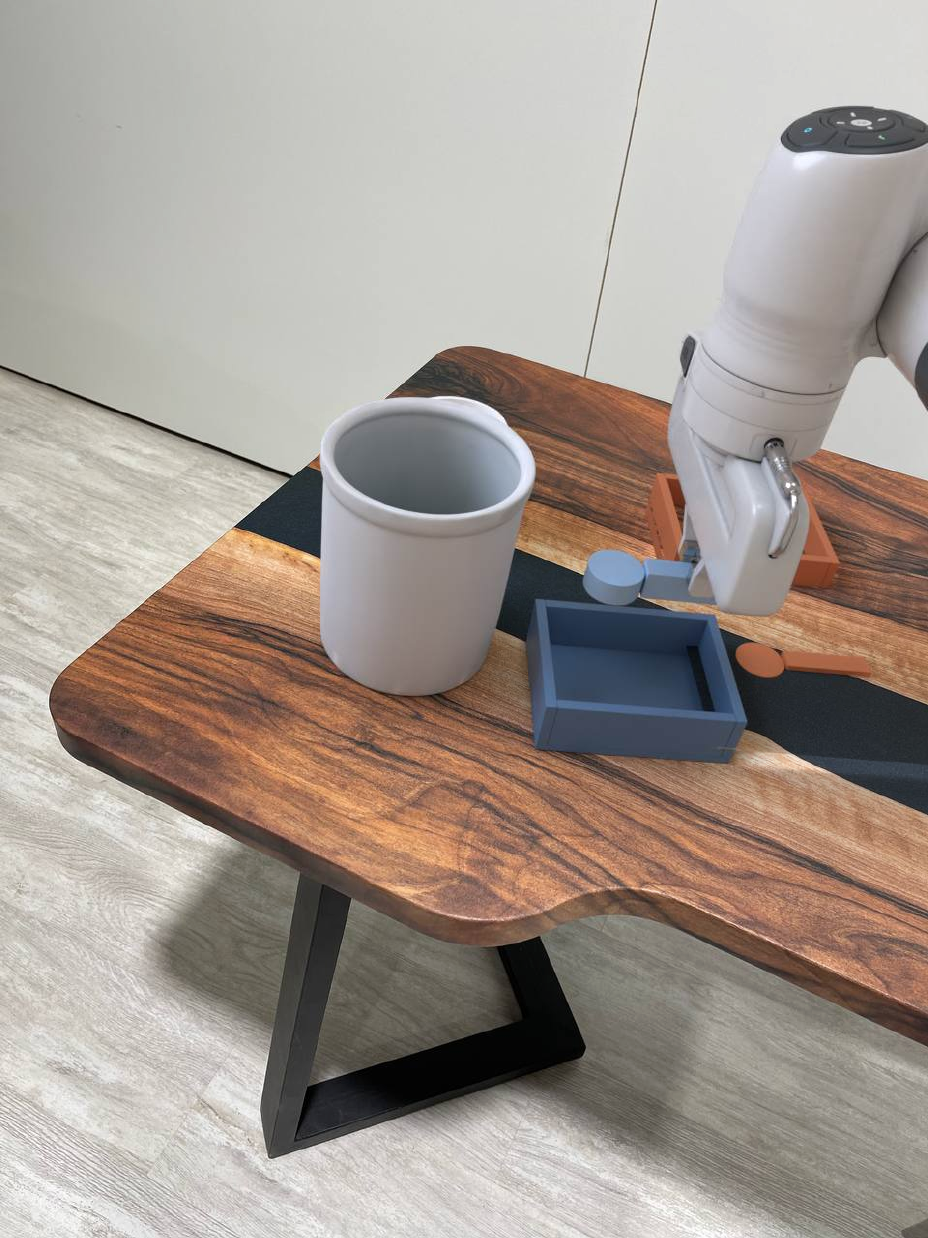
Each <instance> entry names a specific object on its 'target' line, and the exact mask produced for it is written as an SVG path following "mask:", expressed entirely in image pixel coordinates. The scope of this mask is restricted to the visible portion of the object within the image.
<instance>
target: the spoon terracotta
mask: <svg viewBox="0 0 928 1238" xmlns="http://www.w3.org/2000/svg"><path fill="white" fill-rule="evenodd" d="M734 655H735V656H734V657H735V660H736V662H737V663H738V665H739V666H740V667H741V668H742V669H744V671H746V672H748V673H749V674H751V675H753V676H755V677H759V678H765V679H773V678H776V677H778V676H781V675H782V673H783V672H784V670H786V671H793V672H794V671H795V672H805V673H806V672H808V673H817V674H818V673H820V674H829V675H830V674H831V675H841V676H855V677H864V678H865V677H867V678H870V677H871V674H872V671H871V668H870V665H869V664H868V661H867V659H866V657H863V656H851V655H839V654H829V653H817V652H807V651H806V652H805V651H794V650H782V652H781V653H778V652H777V651H776V650H775V649H774V648H772V647H770V646H768V645H765V644H762V643H759V642H745V643H742V644H741V645H739V646H738V647H737V648H736V650H735V654H734Z"/></svg>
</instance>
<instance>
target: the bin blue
mask: <svg viewBox="0 0 928 1238" xmlns="http://www.w3.org/2000/svg"><path fill="white" fill-rule="evenodd" d="M530 616H531V617H530V619H529V625H528V629H527V633H526V638H525V650H526V661H527V662H526V663H527V673H528V681H529V682H528V684H529V695H530V707H531V717H532V718H531V719H532V730H533V741H534V749H535V750H540V751H551V752H553V751H554V752H566V753H578V754H579V753H580V754H593V755H605V756H606V755H607V756H618V757H619V756H620V757H631V758H647V759H661V760H673V761H687V762H699V763H715V764H727V765H728V764H730V762H731V759H732V757H733V754H734V753H735V749H736V748H737V747H738V744H739V741H740V739H741V737H742V735H743V734H744V731H745V729H746V726H747V724H748V718H747V716H746V713H745V709H744V706H743V702H742V700H741V696H740V693H739V689H738V685H737V682H736V679H735V676H734V672H733V669H732V666H731V663H730V659H729V657H728V656H729V655H728V653H727V649H726V646H725V642H724V639H723V636H722V632H721V629H720V626H719V622H718V620H717V616H716V614H712V613H700V612H689V611H678V610H668V609H667V610H666V609H658V608H657V609H655V608H646V607H645V608H643V607H632V606H624V605H609V604H599V603H589V602H578V601H577V602H576V601H567V600H565V601H564V600H555V599H554V600H553V599H544V598H534V603H533V608H532V611H531V615H530ZM688 647H697V649H698V653H699V658H700V661H701V665H702V668H703V673H704V675H705V678H706V683H707V687H708V691H709V694H710V698H711V702H712V706H713V709H714V711H706V710H705V711H704V708H703V705H702V701H701V697H700V693H699V690H698V686H697V683H696V681H697V680H696V678H695V674H694V670H693V666H692V663H691V659H690V655H689V651H688Z"/></svg>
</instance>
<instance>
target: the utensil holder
mask: <svg viewBox="0 0 928 1238" xmlns="http://www.w3.org/2000/svg"><path fill="white" fill-rule="evenodd" d="M431 398H432V397H420V396H419V397H415V396H414V397H413V396H409V397H407V396H405V397H393V398H385V399H380V400H379V399H378V400H374V401H370V402H367V403H363V404H361V405H359V406H356V407H353V408H351V409H350V410H348V411H345V412H344V413H343V414H341V415H339V416H338V417H337V418H336V419H335V420H333V421H332V422H331V423H330V424H329V426H328V427H327V429H326V430H325V431H324V434H323V435H322V439H321V442H320V448H319V466H320V472H321V476H322V495H321V496H322V497H321V526H320V527H321V528H320V529H321V531H320V562H319V563H320V565H319V631H320V632H319V634H320V640H321V645H322V646H323V649H324V652H325V653H326V654H327V656H328V658H329V659H330V661H331V662H332V663H333V664H334V665H335V666H336V667H337V669H339V670H340V671H341V672H342V673H343V674H344V675H346V676H347V677H349V678H350V679H351V680H353V681H355V682H357V683H359V684H360V685H363V686H365V687H366V688H369V689H371V690H374V691H378V692H380V693H385V694H390V695H395V696H405V697H406V696H407V697H423V696H431V695H436V694H440V693H444V692H448V691H450V690H453V689H455V688H457V687H459V686H461V685H463V684H464V683H466V682H468V681H469V680H471V678H473V677H475V675H476V674H477V673H478V672H479V671H480V670H481V669H482V667H483V665H484V664H485V662H486V659H487V658H488V655H489V652H490V650H491V645H492V642H493V638H494V634H495V632H496V628H497V624H498V620H499V617H500V613H501V609H502V604H503V601H504V597H505V594H506V593H505V592H506V588H507V584H508V580H509V575H510V572H511V567H512V562H513V558H514V554H515V549H516V545H517V540H518V536H519V532H520V528H521V524H522V519H523V516H524V515H523V514H524V510H525V506H526V504H527V503H528V501H529V499H530V497H531V495H532V492H533V489H534V485H535V480H536V475H537V468H536V461H535V457H534V455H533V453H532V451H531V449H530V446H528V444H527V443H526V441H525V440H524V439H523V438H522V437H521V436H520V435H519V434H518V433H517V432H516V431H515V430H514V429H512V428H511V427H510V426H509V425H508V424H507V425H508V426H507V425H506V424H504V423H503V422H501V421H499V420H498V419H496V418H494V417H492V416H490V415H489V414H487V413H484V412H482V411H480V410H477V409H475V408H472V407H469V406H466V405H463V404H459V403H454V402H450V401H444V400H438V399H431Z"/></svg>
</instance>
